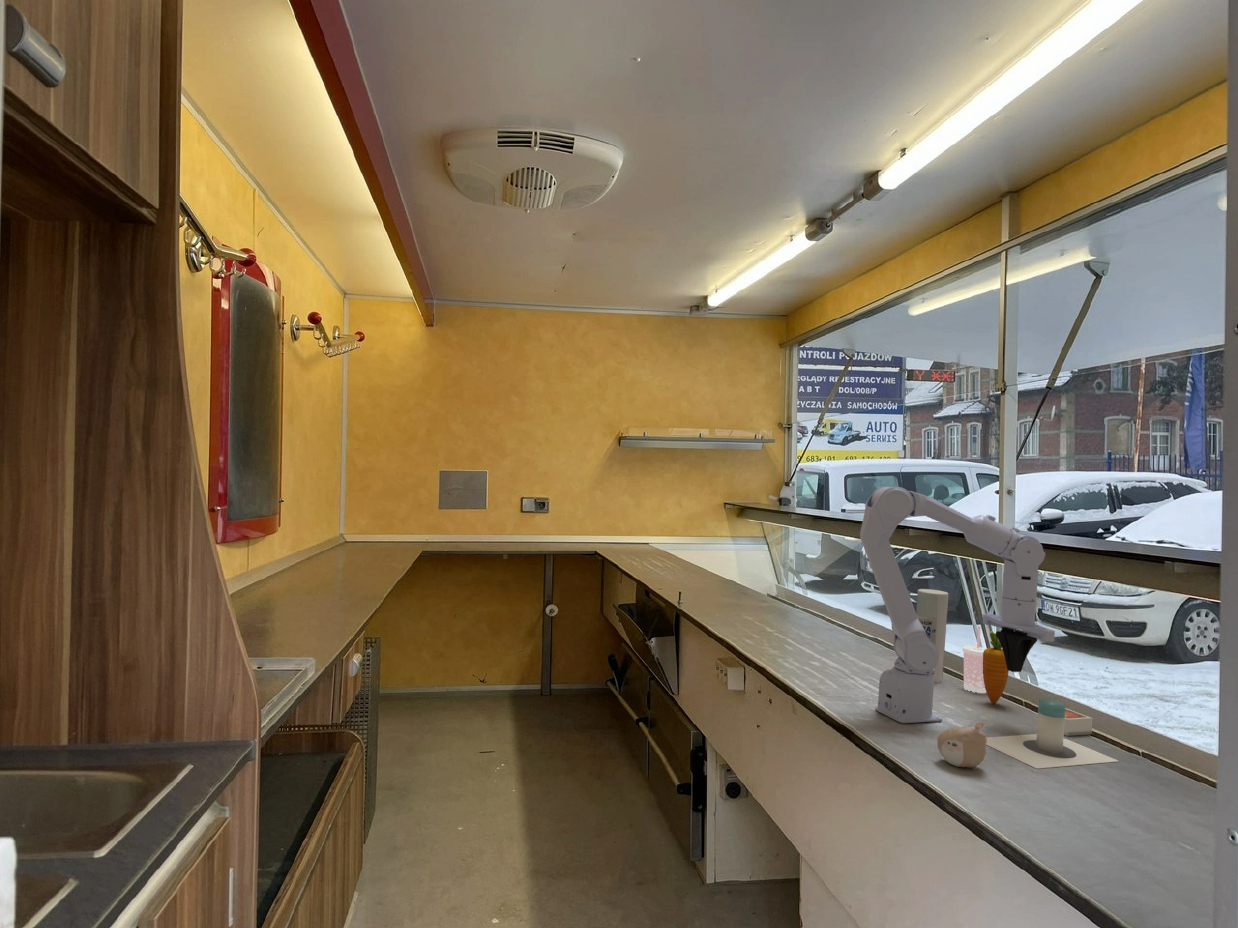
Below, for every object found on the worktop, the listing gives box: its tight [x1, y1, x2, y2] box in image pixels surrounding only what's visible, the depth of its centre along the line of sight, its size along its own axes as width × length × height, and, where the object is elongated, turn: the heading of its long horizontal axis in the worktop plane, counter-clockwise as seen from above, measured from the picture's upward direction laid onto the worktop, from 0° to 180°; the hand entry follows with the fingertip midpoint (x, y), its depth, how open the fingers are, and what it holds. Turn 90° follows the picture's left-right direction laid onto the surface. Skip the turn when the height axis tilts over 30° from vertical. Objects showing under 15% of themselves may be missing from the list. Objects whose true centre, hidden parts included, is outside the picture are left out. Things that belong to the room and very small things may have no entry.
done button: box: [1065, 711, 1079, 719], centre depth 140 cm, size 4×4×2 cm
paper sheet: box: [986, 733, 1120, 770], centre depth 128 cm, size 18×13×1 cm
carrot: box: [983, 630, 1010, 705], centre depth 154 cm, size 5×5×15 cm
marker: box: [1036, 698, 1067, 753], centre depth 129 cm, size 4×4×8 cm
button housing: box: [1064, 707, 1093, 737], centre depth 140 cm, size 6×6×3 cm
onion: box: [937, 720, 987, 769], centre depth 119 cm, size 7×6×8 cm
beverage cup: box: [962, 625, 988, 694], centre depth 164 cm, size 6×6×14 cm
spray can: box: [915, 588, 949, 684], centre depth 171 cm, size 6×6×20 cm
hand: (1014, 670), depth 140 cm, fingers closed
